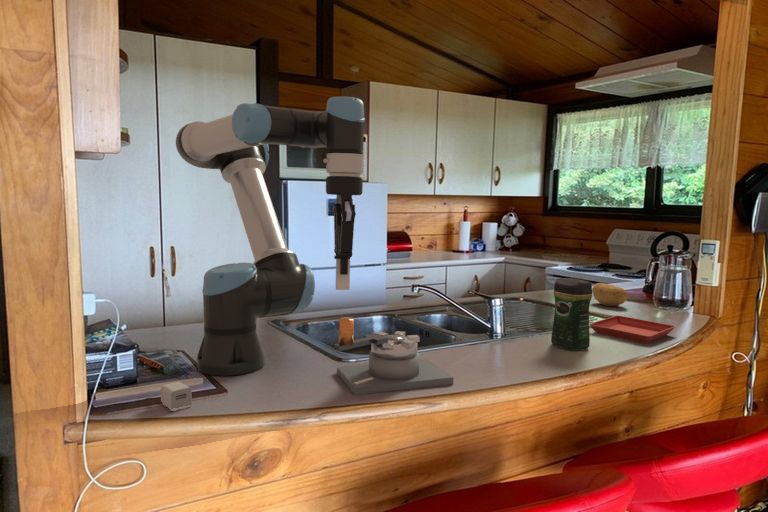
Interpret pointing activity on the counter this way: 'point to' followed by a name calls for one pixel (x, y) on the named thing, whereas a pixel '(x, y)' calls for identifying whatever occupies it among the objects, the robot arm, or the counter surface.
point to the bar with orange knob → (378, 342)
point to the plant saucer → (631, 329)
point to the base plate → (389, 385)
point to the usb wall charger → (176, 395)
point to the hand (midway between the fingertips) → (342, 289)
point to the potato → (609, 294)
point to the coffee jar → (571, 314)
